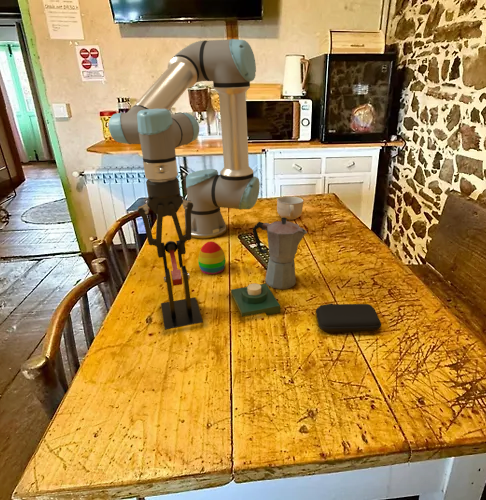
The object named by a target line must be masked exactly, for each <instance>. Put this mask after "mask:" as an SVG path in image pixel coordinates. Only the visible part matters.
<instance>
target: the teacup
mask: <svg viewBox="0 0 486 500" xmlns="http://www.w3.org/2000/svg"><path fill="white" fill-rule="evenodd" d="M303 209H304V199H303V198H301V197H298V196H291V195H285V196H284V195H283V196H278V197H277V199H276V211H277V215H278V216H280V218H287V221H290V220H291V221H293V220H296V219H298V218H299V217H301V215H302V213H303Z"/></svg>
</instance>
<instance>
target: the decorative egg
mask: <svg viewBox="0 0 486 500" xmlns="http://www.w3.org/2000/svg"><path fill="white" fill-rule="evenodd" d="M197 257H198V258H197V263H198V267H199V269H200V271H201V272H202V273H203V274H206V275H217V274H220V273H222V272H223V271H224V270H225V267H226V263H227V262H226V260H227V259H226V255H225V252H224V250H223V249H222V247H221V245H219V243H217V242H215V241H212V240H210V241H207V242H205V243H204V244H203V245H202V246H201V248H200V250H199V252H198V256H197Z"/></svg>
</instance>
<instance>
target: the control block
mask: <svg viewBox="0 0 486 500" xmlns="http://www.w3.org/2000/svg"><path fill="white" fill-rule="evenodd" d="M259 284H260V283H259ZM260 285H261V294H260V295H256V296H253V295H249V294H248V291H247V287H248V285H247V286H244V287H243V286H242V287H239V288H233V289H232V288H231V289H230V295H231V297H232V299H233V301H234V303H235V305H236V307H237V309H238V312H239V313H240V315H241V317H242V318H245V317H249V316H256V315H260V314H266V316H271V315H276V314H280V313H281V304H280V303H279V301H278V299H277V298H276V297H275V295H274V293H273V292H272V291H271V289H270V288H269V285H267V283H261V284H260Z"/></svg>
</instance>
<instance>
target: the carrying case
mask: <svg viewBox="0 0 486 500" xmlns="http://www.w3.org/2000/svg"><path fill="white" fill-rule="evenodd" d="M377 313H378V312H377V311H376V309H375V308H374V306H372V305H371V304H369V303H339V304H338V303H337V304H334V303H332V302H331V303H328V304H321V305H319V306H318V307H317V308H316V309H315V314H316V320H317V324H318V327H319V329H320V330H321V331H323V332H324V333H369V332H376V331H379V330H381V328H382V322H381V320H380V317H379V316H378V314H377Z"/></svg>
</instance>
